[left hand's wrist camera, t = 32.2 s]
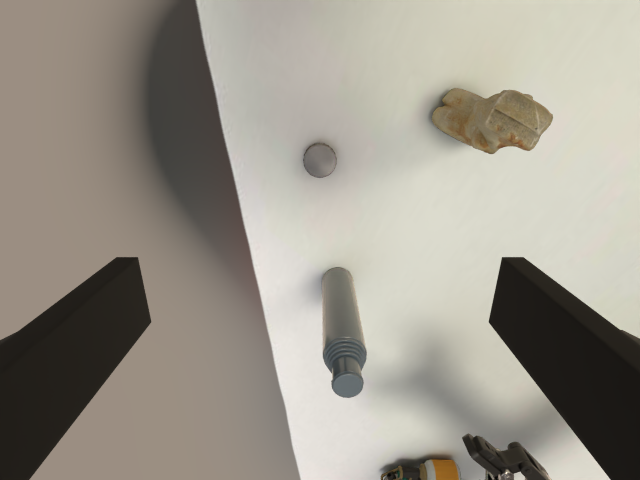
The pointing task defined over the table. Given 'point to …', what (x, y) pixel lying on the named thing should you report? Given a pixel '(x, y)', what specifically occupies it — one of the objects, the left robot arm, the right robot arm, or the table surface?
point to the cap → (319, 160)
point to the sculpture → (492, 119)
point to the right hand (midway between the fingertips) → (432, 467)
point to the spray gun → (426, 471)
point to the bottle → (342, 333)
